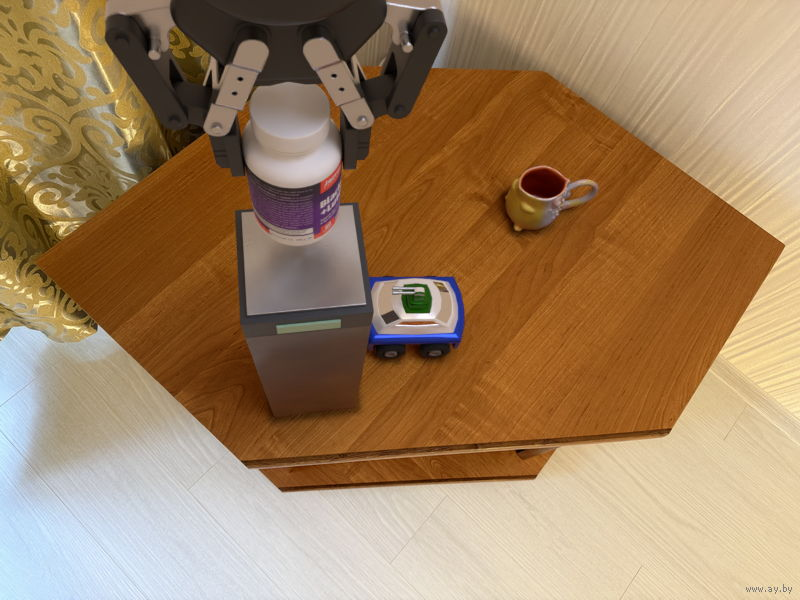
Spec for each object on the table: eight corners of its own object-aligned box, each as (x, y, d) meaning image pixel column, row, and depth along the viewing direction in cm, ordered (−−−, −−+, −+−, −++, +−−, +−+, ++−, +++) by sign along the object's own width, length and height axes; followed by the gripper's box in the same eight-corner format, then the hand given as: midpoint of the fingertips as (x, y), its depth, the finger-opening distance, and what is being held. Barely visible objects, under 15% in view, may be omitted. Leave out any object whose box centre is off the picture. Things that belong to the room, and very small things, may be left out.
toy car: (357, 287, 72) (361, 250, 64) (453, 286, 74) (470, 250, 65) (359, 360, 69) (364, 331, 60) (461, 357, 70) (480, 329, 62)
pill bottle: (337, 251, 37) (341, 154, 28) (250, 246, 37) (226, 145, 28) (341, 179, 39) (346, 68, 31) (259, 173, 39) (240, 59, 30)
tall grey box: (274, 419, 65) (239, 325, 39) (268, 340, 68) (233, 206, 43) (356, 409, 66) (374, 312, 41) (346, 332, 70) (358, 198, 44)
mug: (507, 235, 78) (522, 207, 72) (497, 190, 80) (511, 160, 74) (593, 230, 80) (615, 203, 74) (581, 187, 82) (601, 157, 76)
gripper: (471, -243, 20) (408, 102, 36) (17, -270, 18) (158, 113, 33) (522, -100, 18) (430, 208, 33) (-10, -109, 15) (158, 228, 31)
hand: (293, 159), depth 33 cm, fingers closed on pill bottle, 5 cm apart
